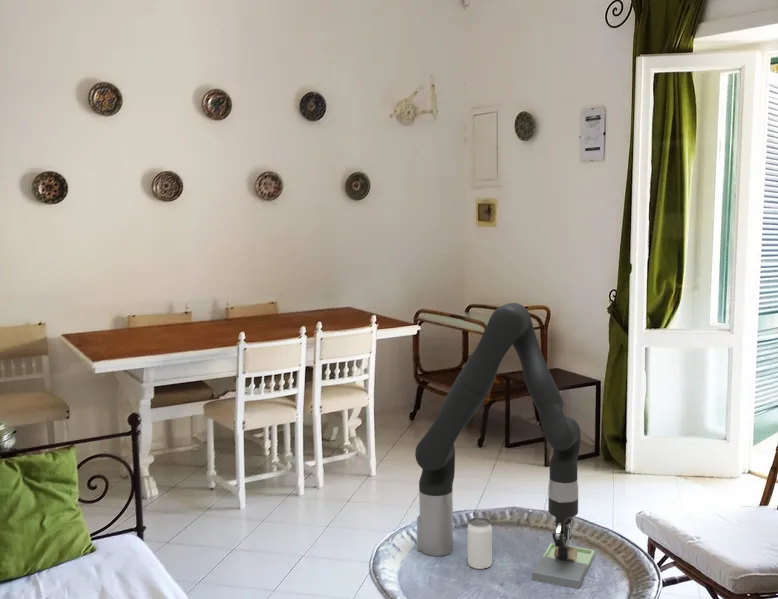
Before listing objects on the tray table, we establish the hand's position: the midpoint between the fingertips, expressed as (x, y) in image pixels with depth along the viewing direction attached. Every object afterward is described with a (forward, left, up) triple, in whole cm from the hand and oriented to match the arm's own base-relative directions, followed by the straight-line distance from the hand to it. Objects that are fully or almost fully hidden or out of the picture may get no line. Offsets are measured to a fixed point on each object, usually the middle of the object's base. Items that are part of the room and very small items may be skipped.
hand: (562, 559), depth 213 cm
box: (0, +8, -3) cm, 8 cm away
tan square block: (0, +3, -1) cm, 3 cm away
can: (-21, -4, -4) cm, 22 cm away
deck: (0, -2, -3) cm, 4 cm away
